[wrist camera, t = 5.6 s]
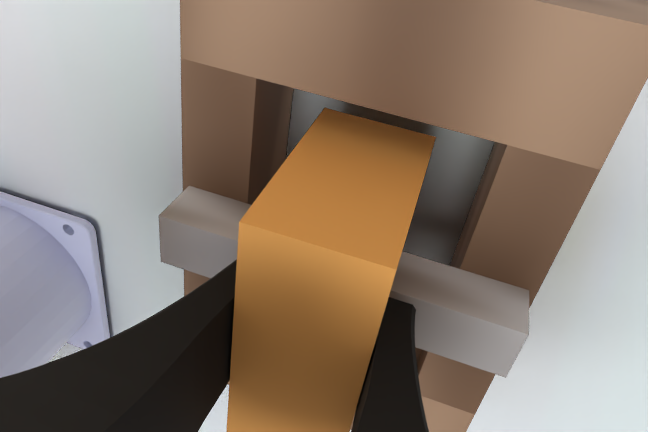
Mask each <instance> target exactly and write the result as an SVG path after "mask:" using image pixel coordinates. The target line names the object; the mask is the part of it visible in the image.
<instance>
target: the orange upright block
mask: <svg viewBox="0 0 648 432" xmlns="http://www.w3.org/2000/svg"><path fill="white" fill-rule="evenodd" d="M435 139H436V137H434V136H431V135H427V134H423V133H419V132H415V131H412V130H408V129H404V128H400V127H396V126H392V125H389V124H385V123H381V122H377V121H373V120H370V119H366V118H362V117H358V116H354V115H351V114H347V113H343V112H339V111H335V110H332V109H328V108H324V109H323V111H322V112H321V113H320V115H319V116H318V117H317V119H316V120H315V121H314V123H313V124H312V125H311V127H310V128H309V129H308V131H307V132H306V133H305V135H304V136H303V137H302V139H301V140H300V141H299V143H298V144H297V145H296V147H295V148H294V149H293V151H292V152H291V153H290V155H289V156H288V157H287V159H286V160H285V161H284V163H283V164H282V165H281V167H280V168H279V169H278V171H277V172H276V173H275V175H274V176H273V177H272V179H271V180H270V181H269V183H268V184H267V185H266V187H265V188H264V189H263V191H262V192H261V193H260V195H259V196H258V197H257V199H256V200H255V201H254V203H253V204H252V205H251V207H250V208H249V209H248V211H247V212H246V213H245V215H244V216H243V217H242V219H241V220H240V221H239V233H238V249H237V266H236V283H235V300H234V317H233V333H232V350H231V367H230V384H229V400H228V417H227V432H349V431H350V427H351V424H352V421H353V417H354V414H355V411H356V407H357V403H358V400H359V396H360V393H361V390H362V386H363V383H364V379H365V376H366V372H367V369H368V366H369V362H370V359H371V355H372V352H373V349H374V345H375V342H376V338H377V335H378V332H379V328H380V325H381V321H382V318H383V315H384V311H385V308H386V305H387V301H388V298H389V294H390V291H391V288H392V284H393V281H394V277H395V274H396V270H397V267H398V264H399V260H400V257H401V254H402V250H403V247H404V244H405V240H406V237H407V234H408V230H409V227H410V223H411V220H412V217H413V213H414V210H415V207H416V203H417V200H418V197H419V193H420V190H421V186H422V183H423V180H424V176H425V173H426V170H427V166H428V163H429V159H430V156H431V153H432V149H433V146H434V142H435Z"/></svg>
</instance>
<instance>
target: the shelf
mask: <svg viewBox="0 0 648 432" xmlns="http://www.w3.org/2000/svg"><path fill="white" fill-rule="evenodd" d="M180 33H181V101H182V169H183V192H182V193H181V194H180V195H179V196H178V197H177V198H176V199H175V200H174V201H173V202H172V203H171V204H170V205H169V206H168V207H167V208H166V209H165V210H164V211H163V212H162V213H161V214H160V215H159V232H160V253H161V262H164V263H167V264H170V265H173V266H176V267H178V268H181V269H184V296H186V295H187V294H189V293H190V292H192V291H193V290H194V289H196V288H197V287H199V286H200V285H202V284H203V283H205V282H206V281H208V280H209V279H211V278H212V277H213V276H215V275H216V274H217V273H219V272H220V271H222V270H223V269H224V268H226V267H227V266H228V265H230V264H231V263H232V262H234V261H235V260H236V259H237V249H238V233H239V221H240V220H241V219H242V217H243V216H244V215H245V213H246V212H247V211H248V209H249V208H250V207H251V205H252V204H253V203H254V201H255V200H256V199H257V197H258V196H259V195H260V193H261V192H262V191H263V189H264V188H265V187H266V185H267V184H268V183H269V181H270V180H271V179H272V177H273V176H274V175H275V173H276V172H277V171H278V169H279V168H280V167H281V165H282V164H283V163H284V161H285V159H286V150H287V141H288V132H289V124H290V115H291V106H292V97H293V88H295V89H299V90H302V91H306V92H310V93H314V94H318V95H321V96H325V97H329V98H333V99H336V100H340V101H344V102H348V103H351V104H355V105H359V106H363V107H366V108H370V109H374V110H378V111H381V112H385V113H389V114H393V115H396V116H400V117H404V118H408V119H411V120H415V121H419V122H423V123H427V124H430V125H434V126H438V127H442V128H445V129H449V130H453V131H457V132H460V133H464V134H468V135H472V136H475V137H479V138H483V139H487V140H490V141H494V142H495V143H494V145H493V148H492V151H491V154H490V156H489V159H488V162H487V165H486V167H485V170H484V173H483V175H482V178H481V181H480V184H479V186H478V189H477V192H476V194H475V197H474V200H473V203H472V205H471V208H470V211H469V214H468V216H467V219H466V222H465V224H464V227H463V230H462V233H461V235H460V238H459V241H458V244H457V246H456V249H455V252H454V254H453V257H452V260H451V263H450V265H449V266H448V265H445V264H442V263H439V262H435V261H432V260H429V259H426V258H422V257H419V256H416V255H413V254H409V253H406V252H403V251H402V254H401V257H400V260H399V264H398V267H397V270H396V274H395V277H394V281H393V284H392V288H391V291H390V294H389V297H391V298H394V299H397V300H400V301H403V302H406V303H409V304H413V306H414V307H415V309H416V314H415V351H416V362H417V369H418V377H419V384H420V390H421V396H422V402H423V407H424V412H425V417H426V421H427V425H428V429H429V432H466V431H467V429H468V427H469V425H470V423H471V421H472V419H473V417H474V415H475V413H476V411H477V409H478V407H479V405H480V403H481V401H482V399H483V397H484V395H485V394H486V392H487V390H488V388H489V386H490V384H491V382H492V380H493V378H494V376H495V374H497V375H500V376H503V377H506V376H507V374H508V373H509V371H510V369H511V367H512V365H513V363H514V361H515V360H516V358H517V356H518V354H519V352H520V350H521V348H522V346H523V345H524V343H525V341H526V339H527V337H528V335H529V308H530V306H531V304H532V302H533V300H534V298H535V296H536V294H537V292H538V290H539V288H540V286H541V284H542V283H543V281H544V279H545V277H546V275H547V273H548V271H549V269H550V267H551V265H552V263H553V261H554V259H555V257H556V255H557V253H558V251H559V249H560V247H561V246H562V244H563V242H564V240H565V238H566V236H567V234H568V232H569V230H570V228H571V226H572V224H573V222H574V220H575V218H576V216H577V214H578V212H579V210H580V209H581V207H582V205H583V203H584V201H585V199H586V197H587V195H588V193H589V191H590V189H591V187H592V185H593V183H594V181H595V179H596V177H597V175H598V173H599V172H600V170H601V168H602V166H603V164H604V162H605V160H606V158H607V156H608V154H609V152H610V150H611V148H612V146H613V144H614V142H615V140H616V138H617V136H618V135H619V133H620V131H621V129H622V127H623V125H624V123H625V121H626V119H627V117H628V115H629V113H630V111H631V109H632V107H633V105H634V103H635V101H636V99H637V97H638V96H639V94H640V92H641V90H642V88H643V86H644V84H645V82H646V80H647V78H648V0H180ZM228 384H230V381H229V382H228ZM354 416H355V414H354ZM353 421H354V417H353ZM353 421H352V424H351V427H350V430H352V426H353Z"/></svg>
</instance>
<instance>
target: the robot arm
mask: <svg viewBox="0 0 648 432" xmlns="http://www.w3.org/2000/svg"><path fill="white" fill-rule="evenodd" d="M236 266H237V259H236V260H235V261H234V262H232V263H231V264H230V265H228V266H227V267H226V268H224V269H223V270H222V271H220V272H219V273H217V274H216V275H215V276H213V277H212V278H211V279H209V280H208V281H206V282H205V283H203V284H202V285H200V286H199V287H197V288H196V289H194V290H193V291H192V292H190V293H189V294H187V295H186V296H184V297H183V298H181V299H179V300H178V301H176V302H175V303H173V304H171V305H170V306H168V307H166V308H165V309H163V310H161V311H160V312H158V313H156V314H155V315H153V316H151V317H149V318H148V319H146V320H144V321H142V322H140V323H139V324H137V325H135V326H133V327H131V328H129V329H127V330H125V331H123V332H121V333H119V334H117V335H115V336H113V337H111V338H110V334H109V326H108V319H107V312H106V304H105V297H104V289H103V282H102V275H101V267H100V260H99V252H98V245H97V238H96V231H95V228H94V227H93V225H92V224H91V223H90V222H89V221H87V220H85V219H82V218H79V217H76V216H73V215H70V214H67V213H64V212H61V211H58V210H55V209H52V208H49V207H46V206H43V205H40V204H37V203H34V202H31V201H28V200H25V199H22V198H19V197H16V196H13V195H10V194H7V193H4V192H1V191H0V432H198V430H199V429H200V427H201V425H202V423H203V422H204V420H205V418H206V417H207V415H208V414H209V412H210V411H211V409H212V407H213V406H214V404H215V403H216V401H217V399H218V398H219V396H220V395H221V393H222V392H223V390H224V388H225V387H226V385H227V384H228V382H229V381H230V367H231V350H232V333H233V317H234V300H235V283H236ZM415 314H416V309H415V307H414V306H413V304H409V303H406V302H403V301H400V300H397V299H394V298H391V297H389V298H388V301H387V305H386V308H385V311H384V315H383V318H382V321H381V325H380V328H379V332H378V335H377V338H376V342H375V345H374V349H373V352H372V355H371V359H370V362H369V366H368V369H367V372H366V376H365V379H364V383H363V386H362V390H361V393H360V396H359V400H358V403H357V407H356V411H355V416H354V421H353V426H352V430H351V432H429V429H428V425H427V421H426V417H425V412H424V407H423V402H422V396H421V390H420V384H419V377H418V369H417V362H416V351H415ZM66 343H69V344H72V345H74V346H77V347H80V348H82V349H84V350H81V351H79V352H76V353H74V354H71V355H69V356H66V357H63V358H60V359H58V360H55V361H52V362H49V361H50V360H51V359H52V357H53V356H54V355H55V354H56V353H57V352H58V351H59V350H60V349H61V348H62V347H63V346H64V345H65V344H66ZM48 362H49V363H48Z"/></svg>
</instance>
